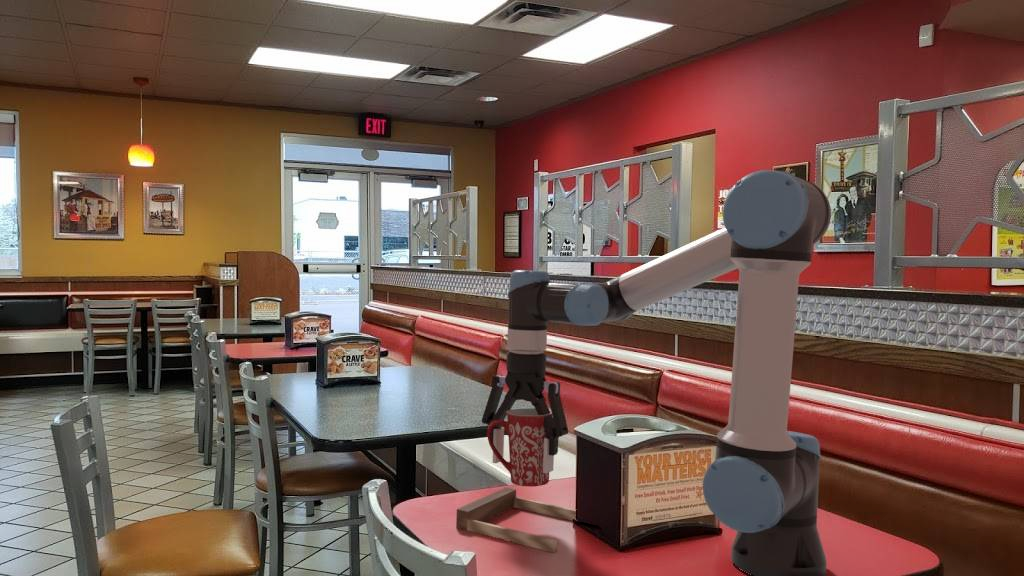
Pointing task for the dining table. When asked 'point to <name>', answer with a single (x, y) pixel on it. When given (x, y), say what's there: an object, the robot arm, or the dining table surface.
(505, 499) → the channel
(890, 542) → the dining table surface
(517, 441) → the mug
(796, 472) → the robot arm
